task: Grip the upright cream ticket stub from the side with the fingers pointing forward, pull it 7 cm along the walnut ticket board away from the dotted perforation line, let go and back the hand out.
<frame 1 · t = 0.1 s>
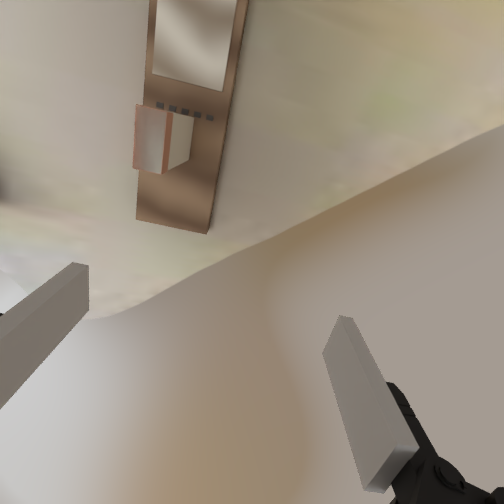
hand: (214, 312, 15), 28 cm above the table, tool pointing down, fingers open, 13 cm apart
stub: (168, 138, 29), point 9 cm above the table, slide at 0.0 cm
ticket board: (191, 99, 35), on the table
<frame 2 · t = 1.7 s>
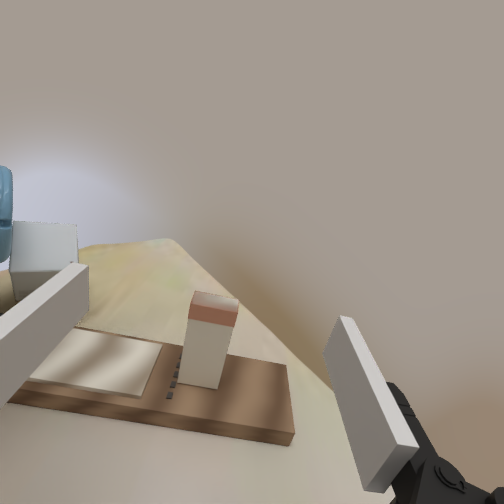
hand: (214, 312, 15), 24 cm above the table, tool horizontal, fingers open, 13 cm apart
stub: (206, 342, 33), point 9 cm above the table, slide at 0.0 cm
ticket board: (162, 386, 36), on the table
supplement box: (44, 278, 46), point 2 cm above the table, touching arm
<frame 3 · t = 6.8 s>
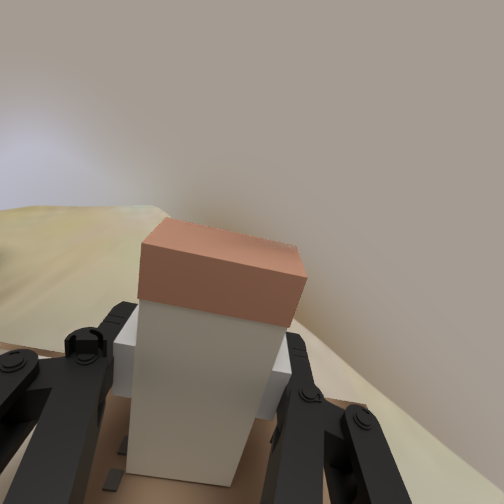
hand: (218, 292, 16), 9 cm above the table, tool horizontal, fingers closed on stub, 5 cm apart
stub: (202, 369, 12), point 9 cm above the table, slide at 0.0 cm, touching gripper
ticket board: (96, 470, 15), on the table
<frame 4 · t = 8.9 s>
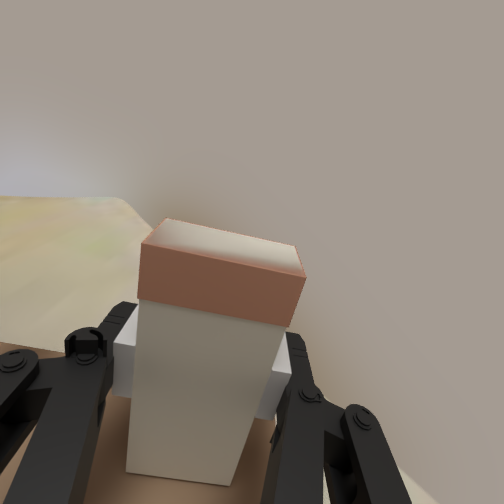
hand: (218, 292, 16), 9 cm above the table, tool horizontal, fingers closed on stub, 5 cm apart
stub: (202, 369, 12), point 9 cm above the table, slide at 7.0 cm, touching gripper
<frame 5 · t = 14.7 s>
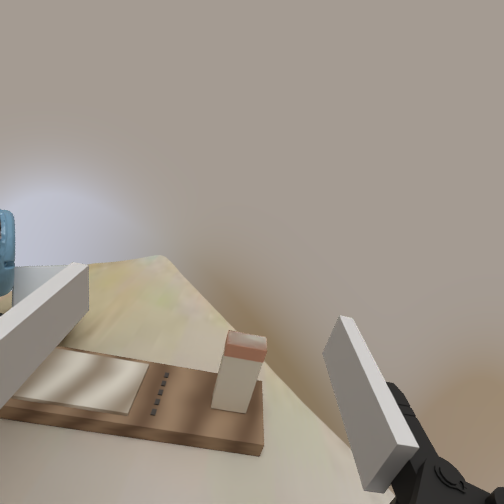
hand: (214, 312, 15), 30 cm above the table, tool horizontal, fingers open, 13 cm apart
stub: (237, 373, 38), point 9 cm above the table, slide at 7.0 cm
ticket board: (148, 402, 40), on the table
supplement box: (42, 301, 50), point 3 cm above the table, touching arm
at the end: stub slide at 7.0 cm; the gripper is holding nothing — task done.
